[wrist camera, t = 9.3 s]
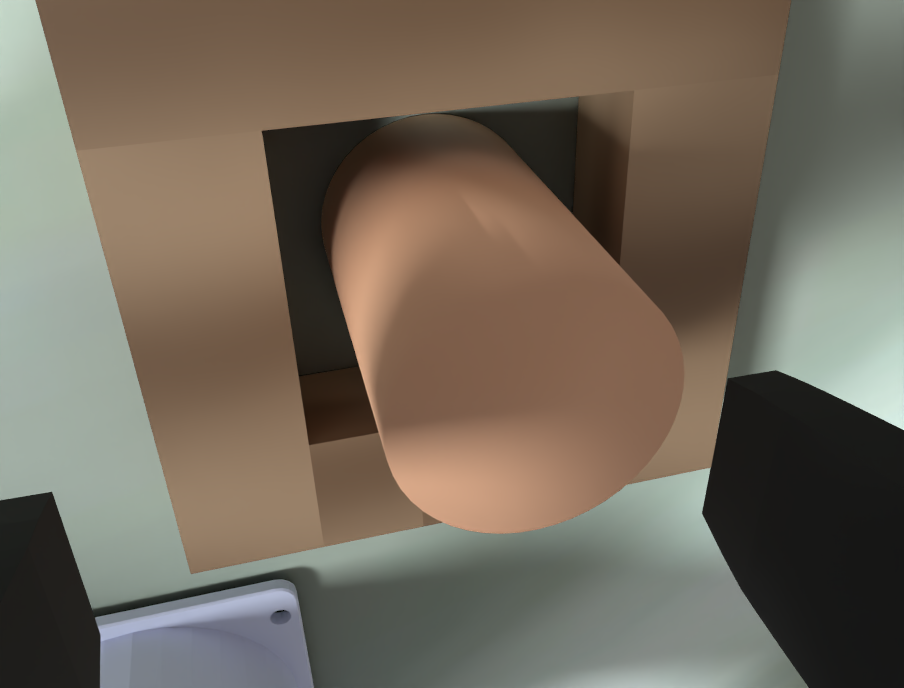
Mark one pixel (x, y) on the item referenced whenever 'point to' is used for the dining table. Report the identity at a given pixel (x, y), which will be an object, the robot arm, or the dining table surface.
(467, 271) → the terracotta peg
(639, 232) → the keyhole board
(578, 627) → the dining table surface
